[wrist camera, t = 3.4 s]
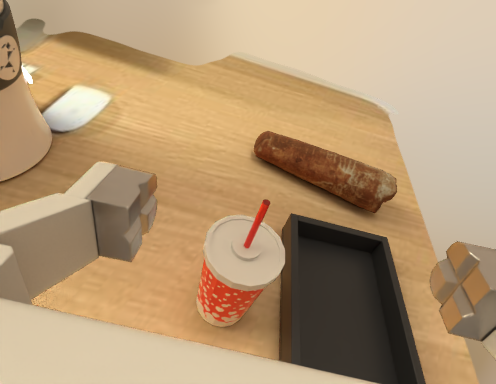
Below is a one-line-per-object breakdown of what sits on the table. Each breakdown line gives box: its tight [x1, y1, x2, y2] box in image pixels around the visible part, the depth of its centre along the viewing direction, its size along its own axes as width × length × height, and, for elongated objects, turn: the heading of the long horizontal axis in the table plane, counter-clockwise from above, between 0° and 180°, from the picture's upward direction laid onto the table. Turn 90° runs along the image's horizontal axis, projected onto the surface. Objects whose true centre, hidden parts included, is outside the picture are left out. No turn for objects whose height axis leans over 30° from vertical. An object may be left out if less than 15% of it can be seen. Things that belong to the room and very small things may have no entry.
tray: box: [279, 213, 426, 384], centre depth 32 cm, size 12×17×3 cm
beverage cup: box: [196, 200, 285, 327], centre depth 25 cm, size 6×6×14 cm
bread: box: [254, 131, 397, 213], centre depth 44 cm, size 6×19×6 cm, turn 67°
